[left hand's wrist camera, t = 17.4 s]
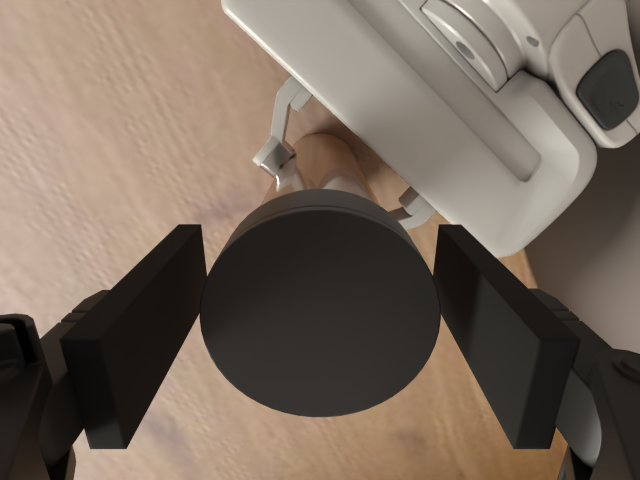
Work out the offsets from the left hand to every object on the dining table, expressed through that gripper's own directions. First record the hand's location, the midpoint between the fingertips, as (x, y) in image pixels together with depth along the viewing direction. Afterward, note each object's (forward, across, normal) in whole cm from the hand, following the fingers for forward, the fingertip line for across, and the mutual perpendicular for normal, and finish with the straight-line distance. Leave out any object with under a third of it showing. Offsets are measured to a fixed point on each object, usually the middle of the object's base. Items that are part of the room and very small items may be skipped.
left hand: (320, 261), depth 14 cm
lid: (-4, 0, 0) cm, 4 cm away
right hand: (+9, 0, -1) cm, 9 cm away
